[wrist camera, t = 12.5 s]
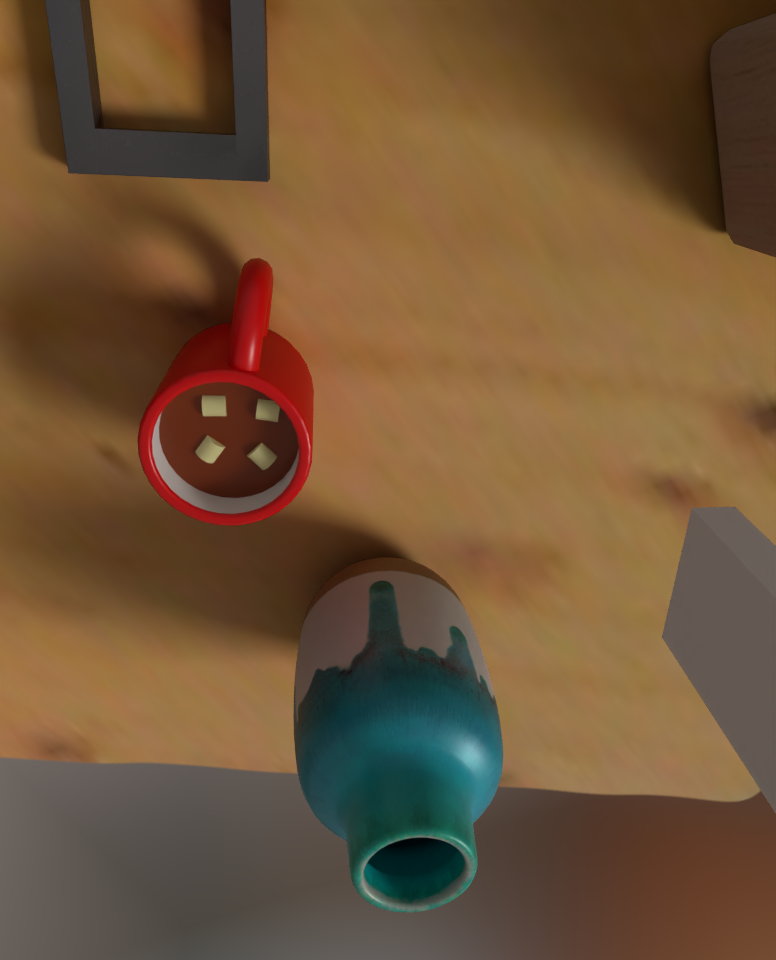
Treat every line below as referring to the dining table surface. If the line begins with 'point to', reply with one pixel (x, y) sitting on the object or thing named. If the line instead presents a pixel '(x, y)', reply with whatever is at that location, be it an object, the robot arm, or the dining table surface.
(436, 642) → the vase
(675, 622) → the robot arm
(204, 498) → the mug
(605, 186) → the dining table surface
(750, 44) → the block
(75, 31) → the grey slotted plate
